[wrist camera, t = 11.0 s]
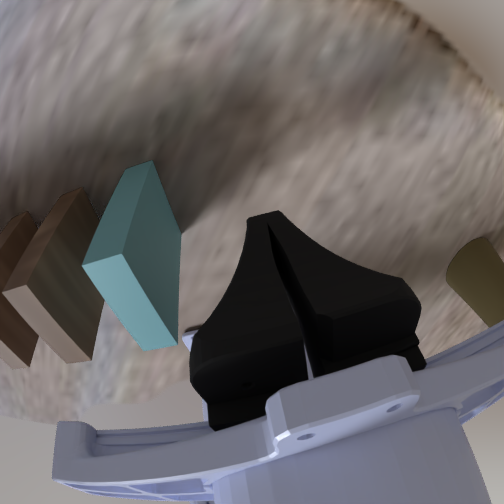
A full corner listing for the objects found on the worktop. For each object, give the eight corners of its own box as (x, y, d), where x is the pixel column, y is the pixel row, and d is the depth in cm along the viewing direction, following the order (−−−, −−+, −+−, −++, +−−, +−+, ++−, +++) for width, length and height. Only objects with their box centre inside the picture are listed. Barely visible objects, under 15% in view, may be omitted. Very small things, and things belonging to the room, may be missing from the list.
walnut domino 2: (82, 187, 16) (26, 284, 9) (117, 253, 19) (91, 360, 12) (61, 195, 16) (2, 292, 9) (96, 259, 19) (66, 363, 13)
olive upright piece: (435, 283, 26) (494, 376, 17) (470, 231, 22) (546, 322, 14) (467, 288, 28) (519, 367, 19) (498, 243, 24) (561, 321, 16)
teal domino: (152, 159, 16) (121, 253, 9) (181, 234, 19) (177, 344, 12) (125, 169, 16) (81, 265, 9) (157, 241, 19) (143, 351, 12)
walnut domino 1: (27, 210, 16) (-32, 303, 9) (63, 269, 19) (29, 367, 13) (11, 218, 16) (-46, 308, 9) (47, 274, 19) (12, 369, 13)
